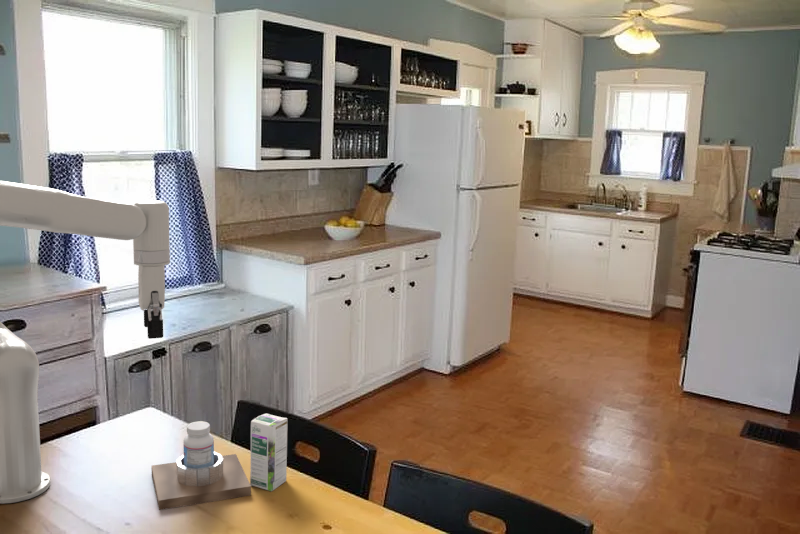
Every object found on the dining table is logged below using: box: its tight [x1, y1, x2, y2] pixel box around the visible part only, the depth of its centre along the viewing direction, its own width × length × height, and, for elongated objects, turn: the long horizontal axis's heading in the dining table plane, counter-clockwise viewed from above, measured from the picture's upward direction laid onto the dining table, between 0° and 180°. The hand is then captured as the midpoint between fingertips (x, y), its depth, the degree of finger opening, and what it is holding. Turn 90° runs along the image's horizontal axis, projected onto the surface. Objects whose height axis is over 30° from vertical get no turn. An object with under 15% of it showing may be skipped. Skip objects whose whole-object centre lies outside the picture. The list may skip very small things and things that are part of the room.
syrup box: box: [249, 413, 288, 492], centre depth 153 cm, size 6×6×14 cm
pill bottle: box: [183, 420, 215, 469], centre depth 151 cm, size 6×6×11 cm
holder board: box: [151, 453, 252, 511], centre depth 152 cm, size 18×16×2 cm
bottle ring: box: [175, 451, 223, 486], centre depth 152 cm, size 9×9×4 cm
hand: (153, 332), depth 162 cm, fingers open, 9 cm apart
